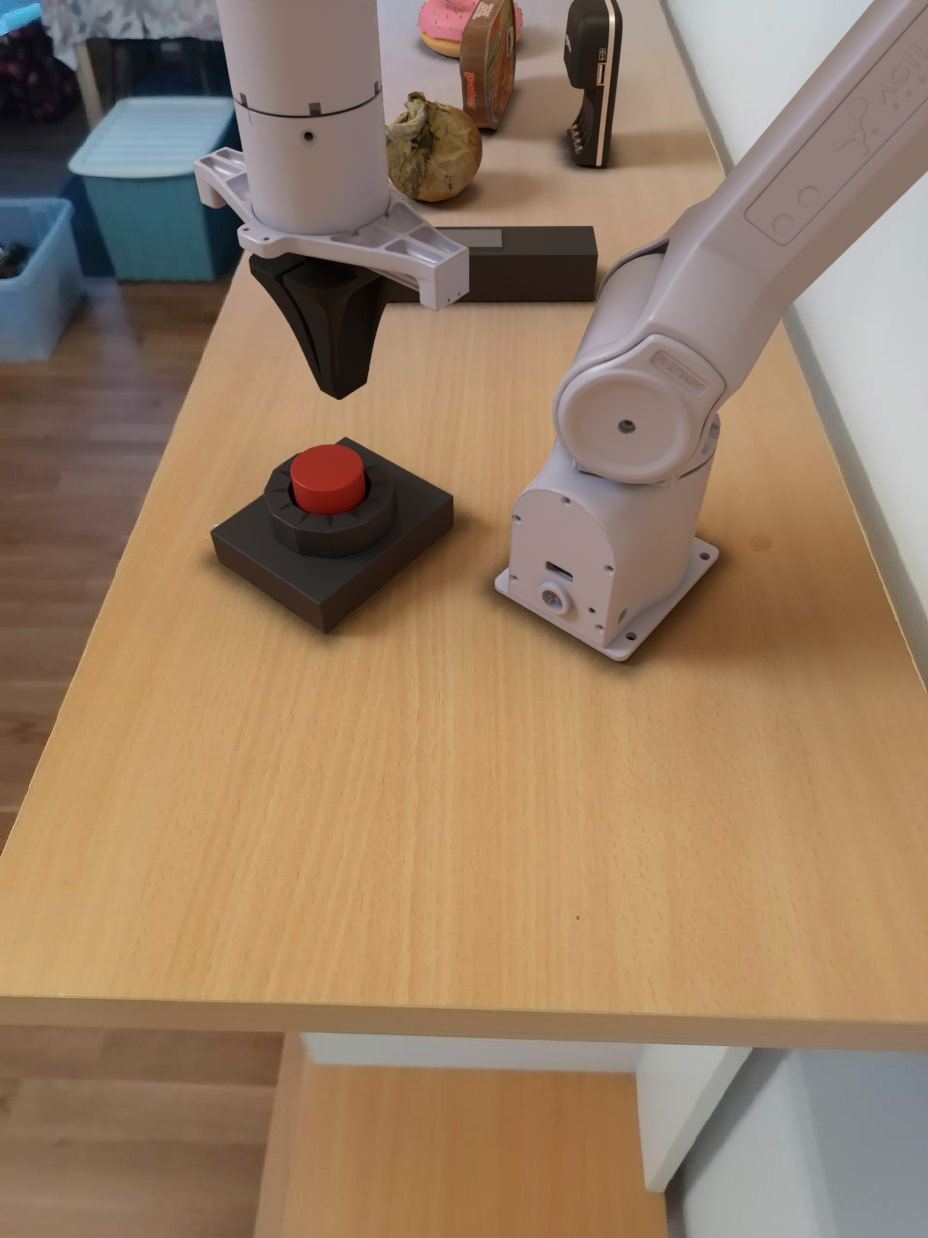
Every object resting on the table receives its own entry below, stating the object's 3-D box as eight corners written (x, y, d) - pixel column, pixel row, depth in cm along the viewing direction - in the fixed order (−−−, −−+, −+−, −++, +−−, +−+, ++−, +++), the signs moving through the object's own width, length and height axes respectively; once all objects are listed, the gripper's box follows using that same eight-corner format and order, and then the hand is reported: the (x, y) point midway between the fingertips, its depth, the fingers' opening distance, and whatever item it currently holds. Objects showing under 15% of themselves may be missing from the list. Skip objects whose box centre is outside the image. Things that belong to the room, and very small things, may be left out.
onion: (485, 213, 75) (487, 106, 69) (384, 217, 75) (377, 110, 69) (478, 170, 80) (479, 67, 74) (383, 174, 80) (376, 70, 74)
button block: (324, 634, 47) (314, 579, 44) (217, 561, 50) (201, 504, 47) (454, 525, 52) (453, 469, 49) (349, 465, 55) (342, 409, 52)
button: (330, 527, 47) (326, 500, 45) (280, 496, 48) (275, 469, 47) (380, 489, 49) (378, 463, 47) (330, 460, 50) (326, 434, 49)
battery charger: (556, 135, 85) (566, -13, 76) (598, 134, 85) (613, -14, 76) (564, 170, 80) (575, 16, 72) (609, 169, 80) (625, 15, 72)
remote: (588, 271, 69) (593, 223, 67) (593, 300, 67) (598, 251, 64) (383, 272, 70) (380, 224, 67) (380, 301, 67) (376, 252, 64)
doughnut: (449, 71, 95) (448, 24, 92) (400, 37, 101) (397, -8, 98) (542, 51, 98) (544, 5, 95) (488, 19, 105) (489, -25, 101)
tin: (490, 145, 84) (491, 38, 77) (455, 142, 84) (453, 35, 78) (518, 80, 93) (521, -20, 87) (486, 77, 94) (487, -22, 87)
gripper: (106, 72, 37) (185, 367, 48) (372, 179, 31) (396, 491, 42) (242, 24, 41) (288, 308, 51) (505, 111, 35) (498, 414, 45)
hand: (344, 386), depth 47 cm, fingers closed
